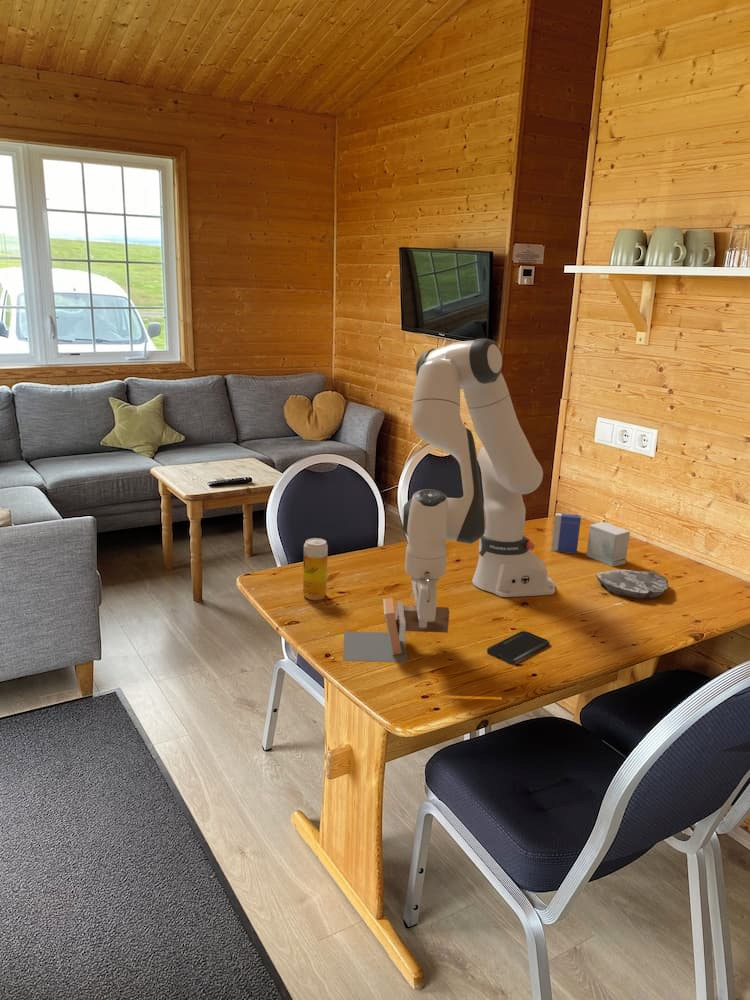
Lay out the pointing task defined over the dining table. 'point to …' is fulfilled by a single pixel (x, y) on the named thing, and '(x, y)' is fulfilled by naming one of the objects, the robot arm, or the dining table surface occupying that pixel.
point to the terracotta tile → (392, 626)
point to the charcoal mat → (370, 647)
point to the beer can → (315, 568)
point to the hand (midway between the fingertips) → (421, 622)
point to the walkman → (566, 533)
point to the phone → (518, 647)
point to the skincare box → (608, 544)
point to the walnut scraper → (409, 620)
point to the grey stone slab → (633, 583)
